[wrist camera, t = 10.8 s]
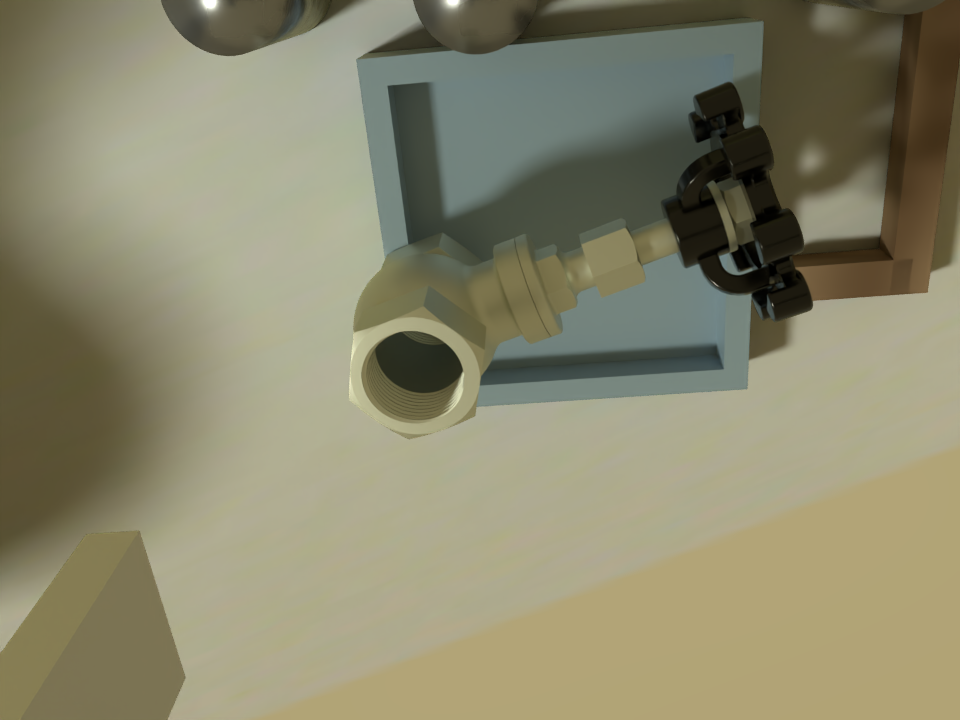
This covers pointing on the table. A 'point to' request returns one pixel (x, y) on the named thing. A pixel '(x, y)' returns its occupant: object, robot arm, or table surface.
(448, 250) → the valve
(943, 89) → the hook tool
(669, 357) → the tray
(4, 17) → the table surface
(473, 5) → the spacers
